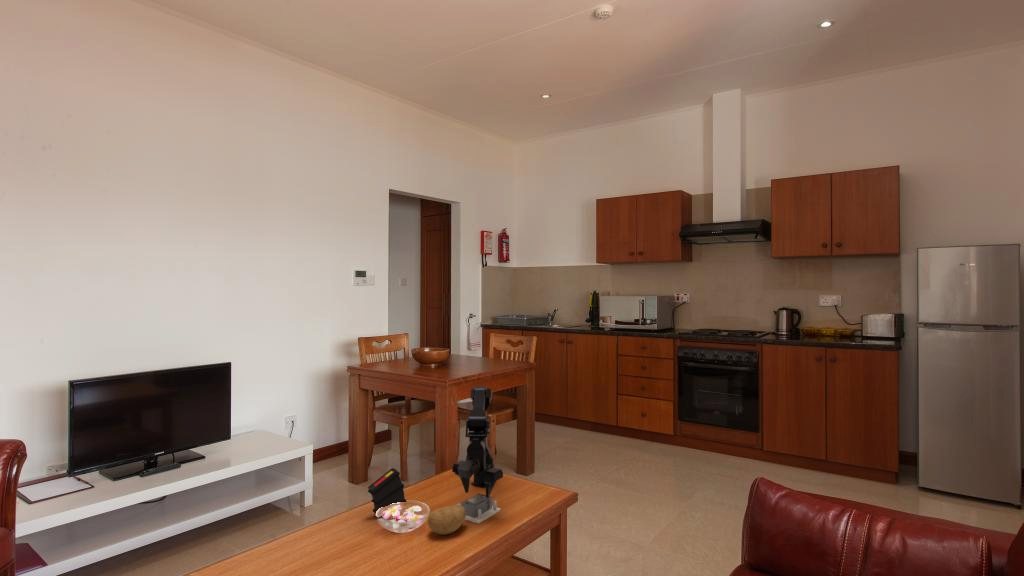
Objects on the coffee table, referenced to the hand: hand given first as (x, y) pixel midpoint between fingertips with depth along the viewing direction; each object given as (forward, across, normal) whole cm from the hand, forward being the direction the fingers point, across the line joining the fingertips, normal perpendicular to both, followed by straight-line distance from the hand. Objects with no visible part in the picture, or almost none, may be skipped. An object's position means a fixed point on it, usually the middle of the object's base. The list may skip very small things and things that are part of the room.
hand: (477, 495), depth 186 cm
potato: (+7, +1, -17) cm, 18 cm away
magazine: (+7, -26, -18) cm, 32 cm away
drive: (+6, 0, 0) cm, 6 cm away
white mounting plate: (+6, 0, 0) cm, 6 cm away
